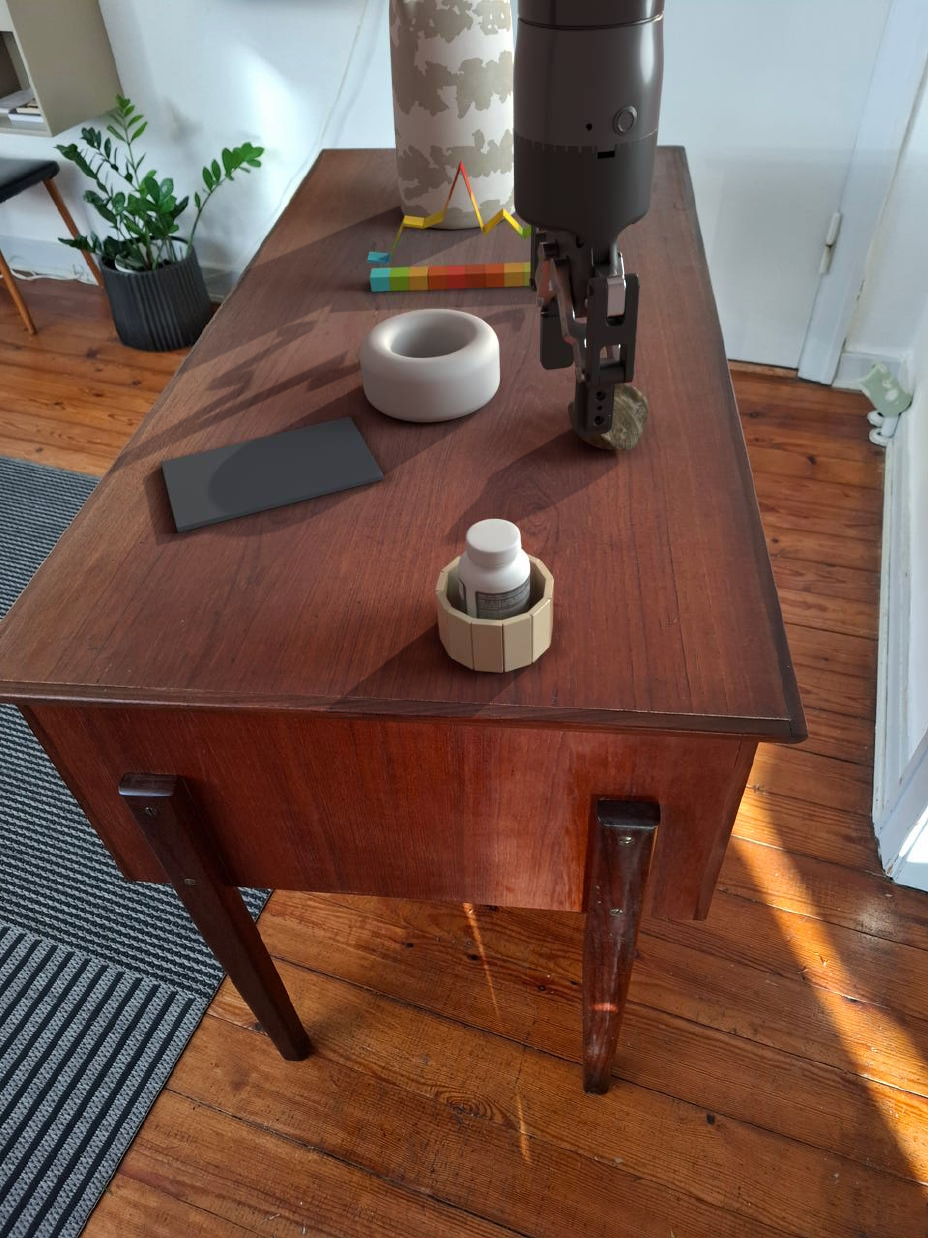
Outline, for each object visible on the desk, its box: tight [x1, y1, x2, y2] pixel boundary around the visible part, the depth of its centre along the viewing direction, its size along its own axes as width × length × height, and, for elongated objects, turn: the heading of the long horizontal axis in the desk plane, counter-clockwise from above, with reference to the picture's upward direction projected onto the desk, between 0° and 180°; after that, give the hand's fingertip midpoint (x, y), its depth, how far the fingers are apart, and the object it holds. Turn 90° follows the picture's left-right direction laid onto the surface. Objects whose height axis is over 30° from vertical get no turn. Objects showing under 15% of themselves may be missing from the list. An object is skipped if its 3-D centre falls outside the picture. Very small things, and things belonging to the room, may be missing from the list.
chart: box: [367, 160, 531, 293], centre depth 114 cm, size 30×3×15 cm, turn 88°
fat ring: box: [358, 308, 501, 423], centre depth 97 cm, size 15×15×7 cm
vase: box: [388, 0, 516, 230], centre depth 126 cm, size 20×19×38 cm
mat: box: [160, 416, 384, 533], centre depth 89 cm, size 20×12×1 cm, turn 111°
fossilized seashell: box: [567, 383, 650, 452], centre depth 89 cm, size 8×7×10 cm
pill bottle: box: [458, 518, 531, 620], centre depth 68 cm, size 5×5×10 cm
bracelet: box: [434, 553, 555, 674], centre depth 69 cm, size 9×9×5 cm
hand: (573, 397), depth 57 cm, fingers open, 8 cm apart
